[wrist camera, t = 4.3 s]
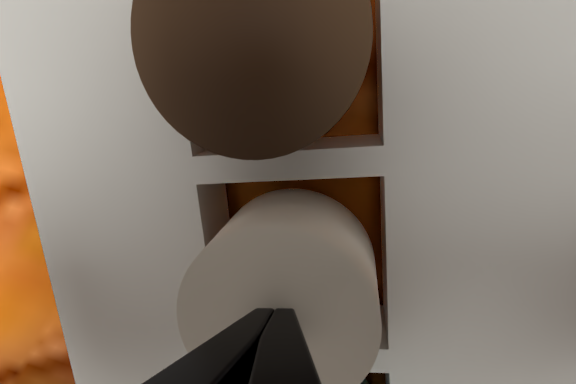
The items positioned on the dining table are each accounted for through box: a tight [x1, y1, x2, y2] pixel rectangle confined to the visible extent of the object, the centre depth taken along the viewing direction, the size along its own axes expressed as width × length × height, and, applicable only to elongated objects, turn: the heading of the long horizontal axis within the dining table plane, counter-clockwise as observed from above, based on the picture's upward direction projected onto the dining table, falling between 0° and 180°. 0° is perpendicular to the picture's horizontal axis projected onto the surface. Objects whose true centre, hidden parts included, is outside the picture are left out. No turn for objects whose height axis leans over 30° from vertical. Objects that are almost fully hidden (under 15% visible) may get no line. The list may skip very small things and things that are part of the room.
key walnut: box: [131, 0, 373, 160], centre depth 9 cm, size 5×5×3 cm
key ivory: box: [176, 188, 382, 384], centre depth 11 cm, size 5×5×3 cm
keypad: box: [0, 0, 576, 384], centre depth 13 cm, size 16×20×2 cm
